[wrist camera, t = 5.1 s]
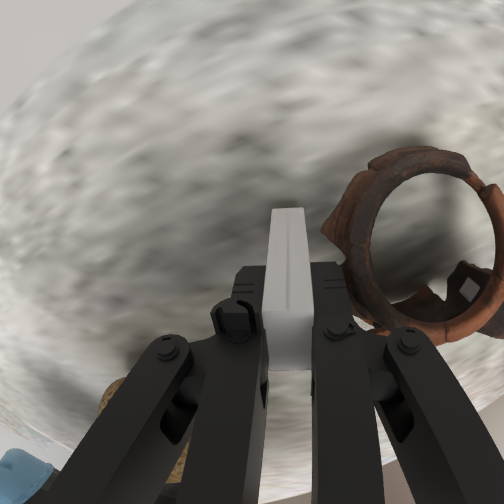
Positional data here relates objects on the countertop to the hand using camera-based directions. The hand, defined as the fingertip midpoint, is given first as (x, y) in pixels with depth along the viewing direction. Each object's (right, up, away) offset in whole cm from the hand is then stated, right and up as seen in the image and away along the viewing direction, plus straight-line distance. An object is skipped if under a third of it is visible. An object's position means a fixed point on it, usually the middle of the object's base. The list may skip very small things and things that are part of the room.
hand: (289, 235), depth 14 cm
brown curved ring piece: (+7, 0, +1) cm, 7 cm away
